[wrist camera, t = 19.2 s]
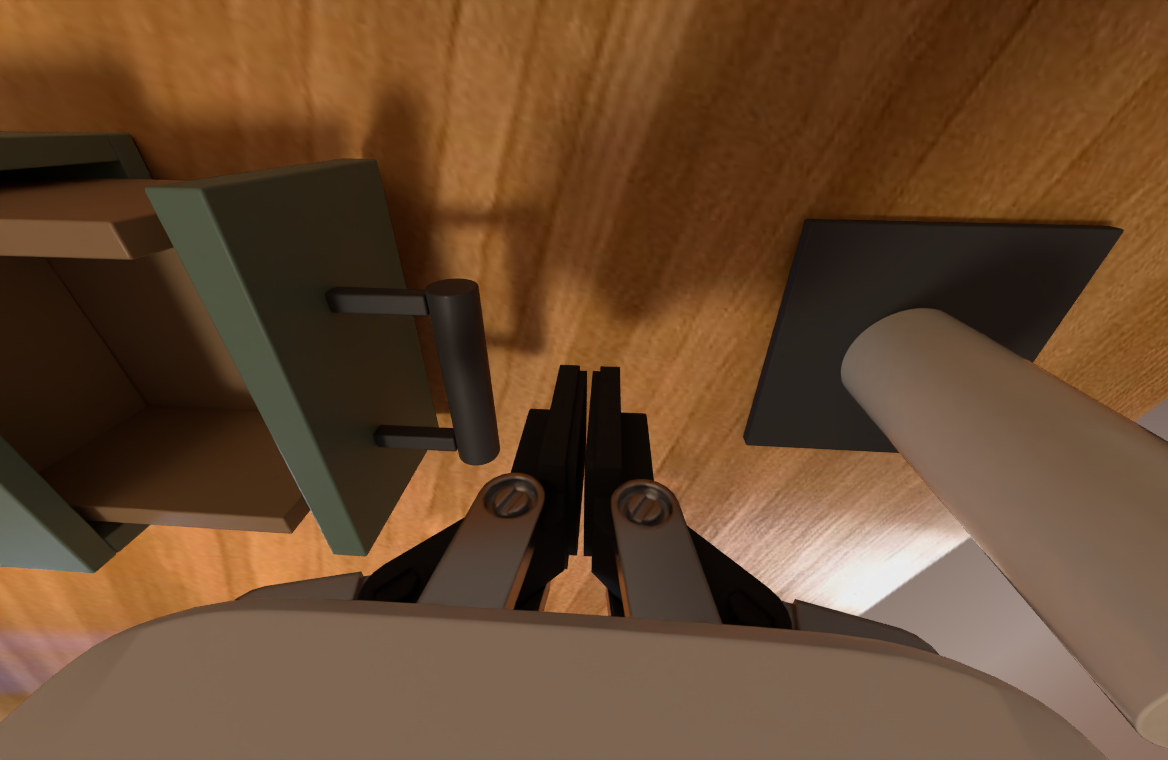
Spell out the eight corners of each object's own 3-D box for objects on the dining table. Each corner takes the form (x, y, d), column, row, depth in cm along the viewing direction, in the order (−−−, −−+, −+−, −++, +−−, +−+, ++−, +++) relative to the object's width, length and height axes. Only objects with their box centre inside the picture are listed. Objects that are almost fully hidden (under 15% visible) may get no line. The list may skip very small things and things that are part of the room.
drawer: (504, 160, 13) (418, 192, 7) (527, 433, 19) (489, 566, 14) (-3, 152, 14) (-425, 175, 8) (172, 415, 20) (-3, 532, 15)
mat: (804, 218, 14) (811, 221, 14) (1107, 225, 14) (1126, 229, 13) (742, 437, 20) (745, 445, 19) (959, 448, 19) (968, 456, 19)
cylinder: (863, 305, 15) (1292, 628, 6) (987, 309, 15) (1659, 653, 5) (825, 401, 18) (1080, 745, 8) (931, 406, 17) (1326, 766, 8)
